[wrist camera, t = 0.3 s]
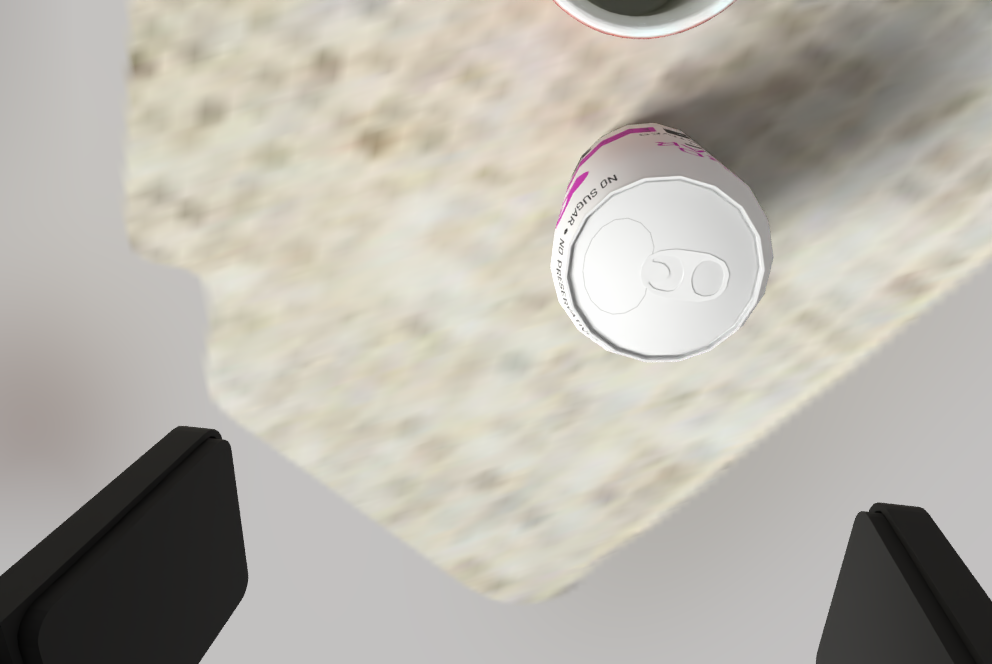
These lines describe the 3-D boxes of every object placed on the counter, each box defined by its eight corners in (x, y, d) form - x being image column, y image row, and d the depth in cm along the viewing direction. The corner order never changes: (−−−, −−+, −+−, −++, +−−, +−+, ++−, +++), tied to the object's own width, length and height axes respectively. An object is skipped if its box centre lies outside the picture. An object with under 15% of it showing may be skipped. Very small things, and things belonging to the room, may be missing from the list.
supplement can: (560, 259, 40) (537, 362, 26) (578, 114, 37) (563, 143, 23) (699, 276, 39) (751, 392, 25) (730, 129, 36) (809, 170, 22)
